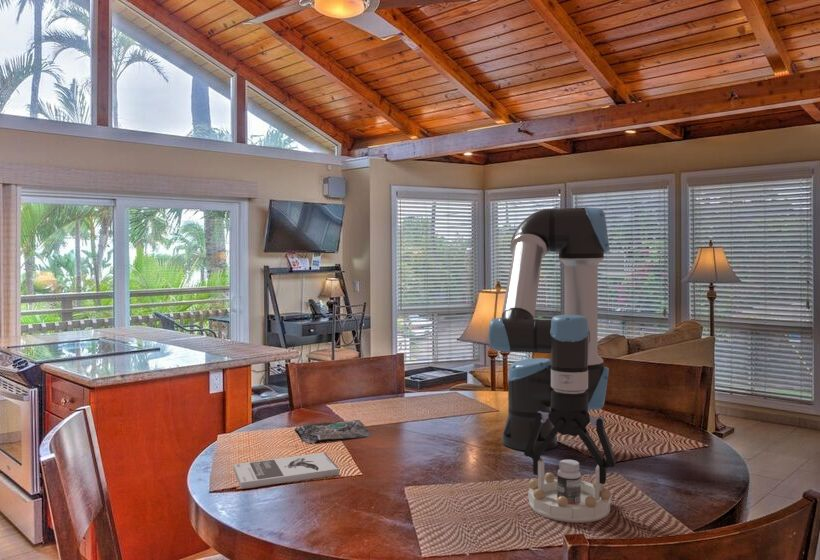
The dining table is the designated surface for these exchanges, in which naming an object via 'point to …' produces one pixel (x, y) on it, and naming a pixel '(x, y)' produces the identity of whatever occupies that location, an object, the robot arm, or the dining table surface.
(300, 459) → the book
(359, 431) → the terrain model
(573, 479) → the pill bottle
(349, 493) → the dining table surface
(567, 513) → the tray
